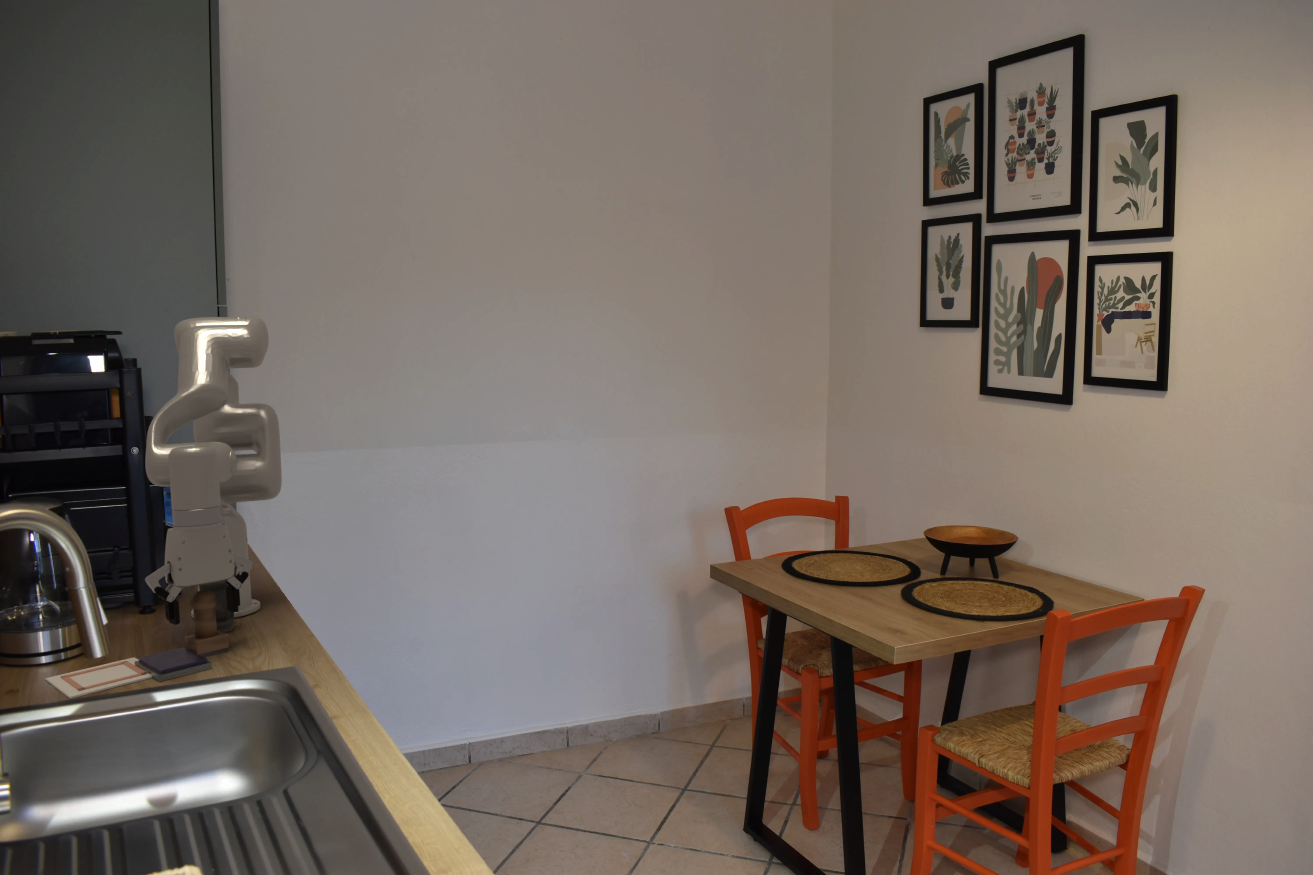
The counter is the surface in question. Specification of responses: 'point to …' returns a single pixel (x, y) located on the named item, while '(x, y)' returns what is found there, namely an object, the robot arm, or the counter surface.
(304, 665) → the counter surface
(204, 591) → the stamp
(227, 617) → the beverage cup
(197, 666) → the ink pad
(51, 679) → the print card
